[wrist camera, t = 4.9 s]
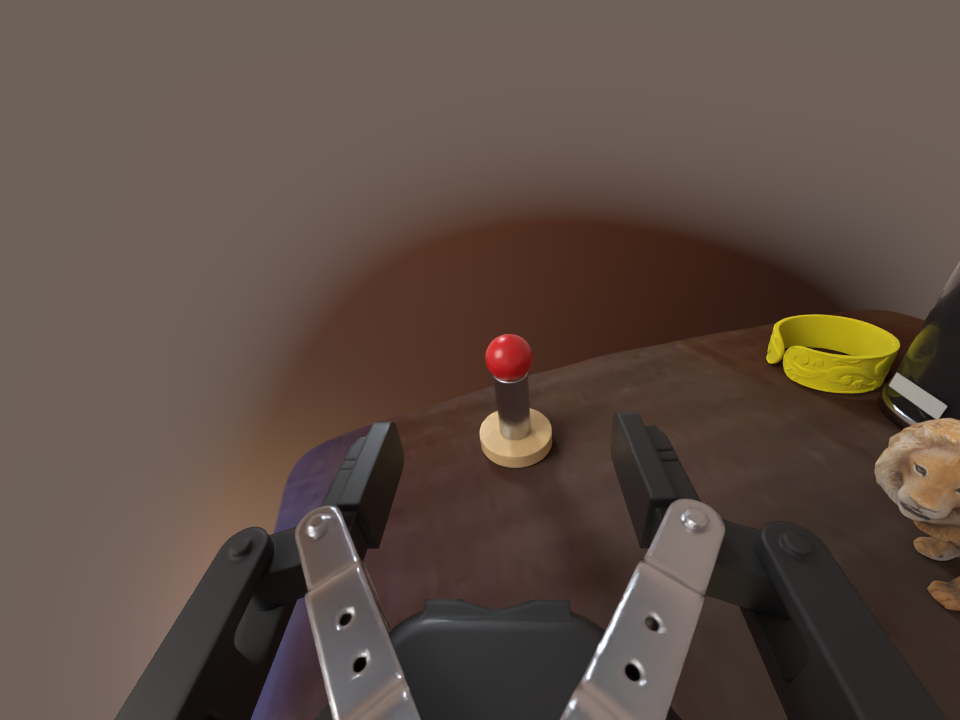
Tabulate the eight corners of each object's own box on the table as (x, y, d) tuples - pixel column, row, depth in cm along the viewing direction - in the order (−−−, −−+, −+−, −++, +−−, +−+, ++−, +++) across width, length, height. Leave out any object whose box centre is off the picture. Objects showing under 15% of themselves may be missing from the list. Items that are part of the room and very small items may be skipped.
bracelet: (827, 340, 35) (838, 308, 34) (914, 386, 28) (933, 349, 27) (748, 351, 36) (756, 320, 34) (815, 399, 29) (828, 363, 27)
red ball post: (526, 408, 32) (520, 311, 27) (567, 448, 28) (568, 340, 23) (469, 433, 30) (451, 334, 26) (503, 480, 26) (489, 370, 21)
